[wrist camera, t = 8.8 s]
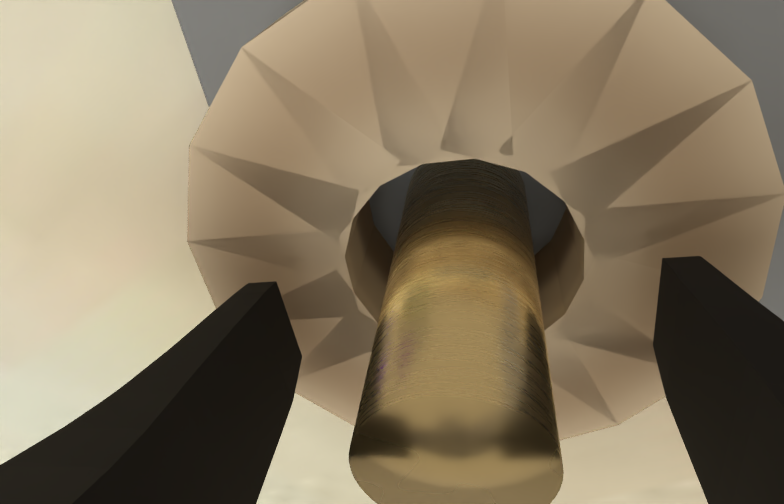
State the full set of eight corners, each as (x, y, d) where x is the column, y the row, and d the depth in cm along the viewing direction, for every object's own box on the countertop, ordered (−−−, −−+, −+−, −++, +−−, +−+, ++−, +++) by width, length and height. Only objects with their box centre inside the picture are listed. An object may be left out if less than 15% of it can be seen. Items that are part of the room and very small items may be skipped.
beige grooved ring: (767, -122, 10) (858, -117, 8) (690, 362, 17) (727, 448, 14) (166, -15, 13) (90, 15, 10) (302, 372, 19) (275, 448, 17)
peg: (523, 137, 14) (563, 396, 7) (528, 243, 15) (563, 533, 9) (399, 150, 14) (327, 400, 8) (416, 250, 16) (370, 528, 9)
